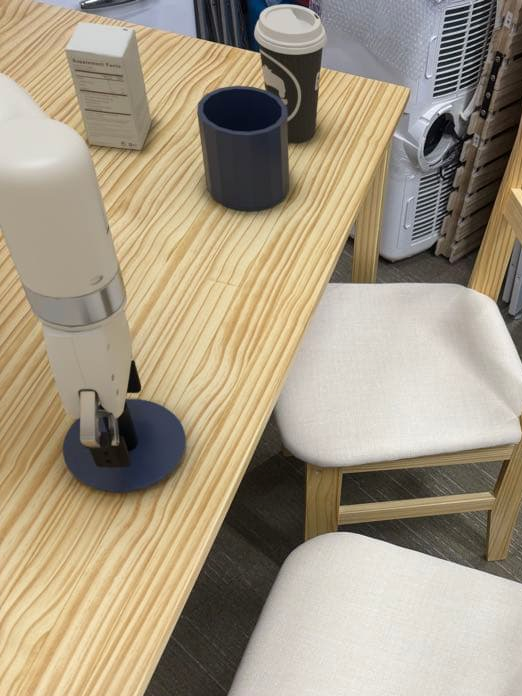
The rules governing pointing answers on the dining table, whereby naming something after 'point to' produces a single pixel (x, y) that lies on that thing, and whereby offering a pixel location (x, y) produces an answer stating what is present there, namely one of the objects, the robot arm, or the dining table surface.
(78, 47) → the white packaging box
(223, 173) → the tin
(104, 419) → the lid
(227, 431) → the dining table surface
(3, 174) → the robot arm
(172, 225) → the dining table surface
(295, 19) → the coffee cup
